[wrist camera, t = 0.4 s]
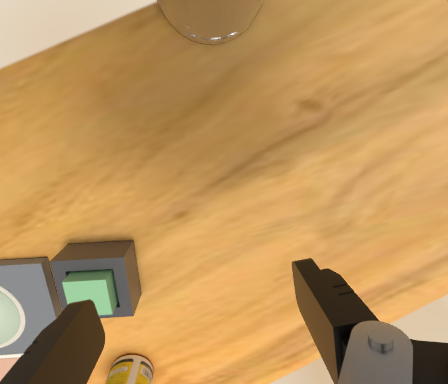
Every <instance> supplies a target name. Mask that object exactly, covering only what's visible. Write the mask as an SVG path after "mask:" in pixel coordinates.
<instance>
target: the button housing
mask: <svg viewBox="0 0 448 384" xmlns="http://www.w3.org/2000/svg"><path fill="white" fill-rule="evenodd" d="M50 264H51V268H52V272H53V276H54V280H55V284H56V287H57V291H58V295H59V299H60V303H61V306H62V310H64V309H65V308H66V306H67V305H68V304H67V300H66V296H65V292H64V288H63V284H62V282H63V281H64V279H65V278H66V277H67V276H68V275H69V273H70V272H71V271H84V270H101V269H113V271H114V277H115V282H116V288H117V293H118V299H119V301H118V303H117V306H116V308H115V310H114V312H113V314H111V315H99V318H111V317H126V316H134V313H135V310H136V307H137V305H138V302H139V299H140V296H141V288H140V281H139V274H138V268H137V261H136V254H135V248H134V241H133V240H130V241H112V242H94V243H75V244H67V245H66V246H65V247H64V248H63V249H62V250H61V251H60V252H59V253H58V254H57V255H56V256H55V257H54V258H53V259H52V260H51V261H50Z"/></svg>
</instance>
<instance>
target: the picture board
mask: <svg viewBox="0 0 448 384" xmlns="http://www.w3.org/2000/svg"><path fill="white" fill-rule="evenodd" d="M61 313H62V310H61V306H60V303H59V299H58V295H57V291H56V287H55V284H54V280H53V276H52V272H51V268H50V265H49V261H48V257H45V258H27V259H10V260H0V381H1V380H2V379H3V377H4V376H5V375H6V374H7V372H8V371H9V370H10V369H11V368H12V366H13V365H14V364H15V363H16V361H17V360H18V359H19V358H20V357H21V355H24V352H25V351H26V349H27V348H28V347H29V346H30V345H31V344H32V342H33V341H34V340H35V338H36V337H37V336H38V335H39V333H40V332H41V331H42V330H43V329H44V328H46V327H47V326H48V325H49V324H50V323H52V322H53V321H54V320H55V319H57V318H58V316H59V315H60V314H61Z"/></svg>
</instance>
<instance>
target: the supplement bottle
mask: <svg viewBox="0 0 448 384" xmlns="http://www.w3.org/2000/svg"><path fill="white" fill-rule="evenodd" d="M152 377H153V367H152V365H151V363H150V362H149V361H148V360H147V359H146V358H144V357H141V356H138V355H126V356H123V357H120V358H119V359H117V360H116V361H115V362H114V363H113V365H112V367H111V370H110V372H109V375H108V378H107V380H106V383H105V384H151V383H152Z"/></svg>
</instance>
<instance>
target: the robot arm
mask: <svg viewBox="0 0 448 384" xmlns="http://www.w3.org/2000/svg"><path fill="white" fill-rule="evenodd" d="M263 1H264V0H157V2H158V4H159V6H160V8H161V10H162V12H163V14H164V16H165V17H166V18H167V20H168V21H169V23H170V24H171V25H172V26H173V27H174V28H175V29H176V30H177V31H178V32H179V33H180V34H181V35H183V36H185V37H186V38H188V39H190V40H192V41H195V42H198V43H201V44H210V45H214V44H221V43H225V42H227V41H230V40H232V39H234V38H236V37H237V36H238V35H240V34H241V33H243V32H244V31H245V30H246V28H247V27H248V26H249V25H250V24H251V23H252V21H253V19H254V18H255V16H256V14H257V13H258V11H259V9H260V7H261V5H262V3H263ZM292 271H293V278H294V286H295V293H296V299H297V303H298V307H299V310H300V312H301V314H302V317H303V319H304V321H305V323H306V325H307V327H308V329H309V331H310V333H311V336H312V338H313V340H314V342H315V344H316V346H317V348H318V350H319V352H320V355H321V357H322V359H323V361H324V363H325V365H326V367H327V369H328V371H329V373H330V375H331V378H332V380H333V382H334V384H448V343H440V342H428V341H417V340H412V339H409V338H408V336H407V335H406V334H405V333H404V332H402V331H401V330H400V329H398V328H396V327H395V326H393V325H390V324H388V323H385V322H381V321H379V320H378V319H377V318H376V316H375V315H374V314H373V313H372V312H371V311H370V309H369V308H368V307H367V306H366V305H365V304H364V302H363V301H362V300H361V299H360V298H359V297H358V295H357V294H356V293H354V291H353V290H352V288H351V287H350V286H349V285H348V284H347V282H346V281H345V280H344V279H343V278H342V277H341V275H339V274H338V273H336V272H334V271H332V270H330V269H328V268H327V269H322V270H320V269H319V268H318V266H317V265H316V264H315V262H314V261H313V260H312V259H311V258H309V259H304V260H298V261H293V262H292ZM104 344H105V333H104V329H103V326H102V323H101V321H100V318H99V315H98V312H97V309H96V307H95V304H94V302H93V301H92V300H90V299H89V300H83V301H78V302H73V303H69V304H68V305H67V306H66V308H65V309H64V310H63V311H62V313H61V314H60V315H59V316H58V318H57V319H55V320H54V321H53V322H52V323H50V324H49V325H48V326H47V327H46V328H44V329H43V330H42V331H41V332H40V333H39V335H38V336H37V337H36V338H35V340H34V341H33V342H32V344H31V345H30V346H29V347H28V348H27V349H26V351H25V352H24V355H21V357H20V358H19V359H18V360H17V361H16V363H15V364H14V365H13V366H12V368H11V369H10V370H9V371H8V372H7V374H6V375H5V376H4V377H3V379H2V380H1V381H0V384H87V382H88V379H89V377H90V375H91V373H92V371H93V369H94V367H95V365H96V363H97V361H98V359H99V357H100V355H101V352H102V350H103V348H104Z"/></svg>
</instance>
